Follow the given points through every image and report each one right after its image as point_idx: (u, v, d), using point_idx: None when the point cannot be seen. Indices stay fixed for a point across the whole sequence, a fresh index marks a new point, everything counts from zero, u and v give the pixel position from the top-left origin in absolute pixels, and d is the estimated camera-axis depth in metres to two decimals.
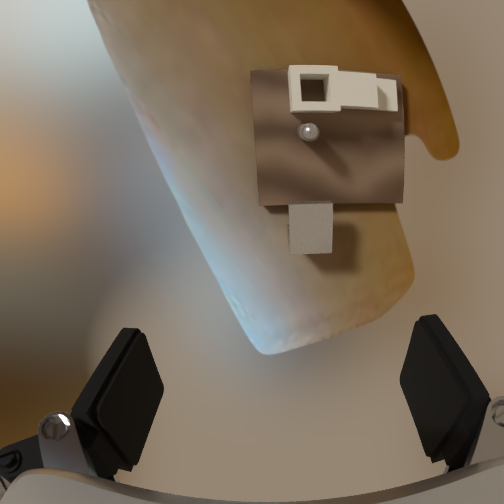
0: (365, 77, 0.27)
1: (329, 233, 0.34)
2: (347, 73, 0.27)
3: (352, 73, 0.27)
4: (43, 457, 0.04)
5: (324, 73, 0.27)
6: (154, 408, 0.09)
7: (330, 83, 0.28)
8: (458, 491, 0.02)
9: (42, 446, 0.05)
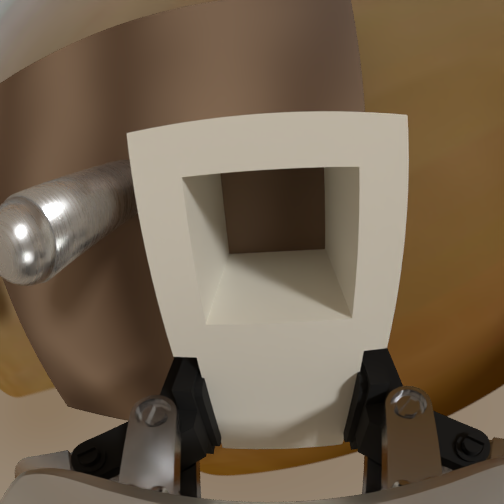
0: (331, 426, 0.08)
1: None
2: (349, 381, 0.07)
3: (348, 395, 0.07)
4: (127, 439, 0.05)
5: (355, 295, 0.06)
6: None
7: (302, 322, 0.06)
8: (458, 491, 0.02)
9: (130, 427, 0.06)
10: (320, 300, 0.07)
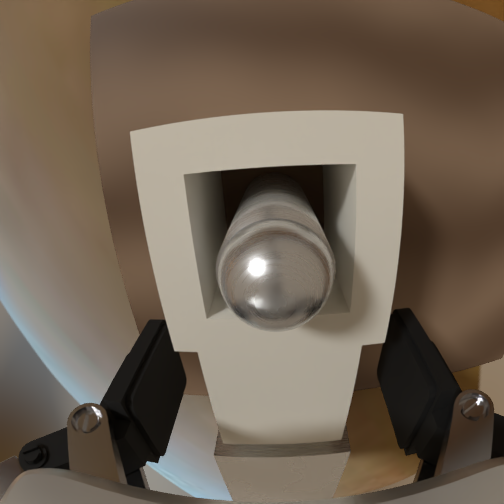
0: (330, 421, 0.08)
1: (329, 486, 0.10)
2: (348, 375, 0.07)
3: (346, 389, 0.07)
4: (69, 448, 0.05)
5: None
6: (179, 399, 0.10)
7: None
8: (458, 491, 0.02)
9: (70, 437, 0.05)
10: None
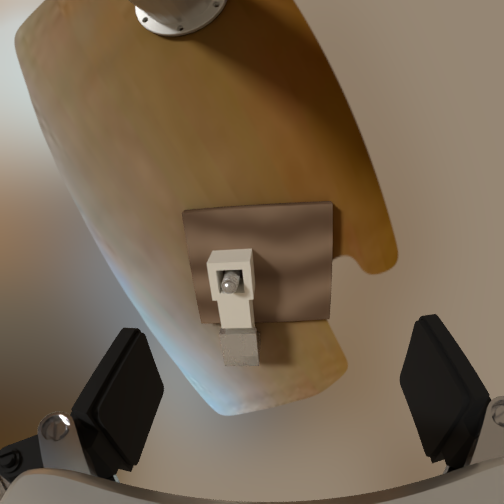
0: (247, 320, 0.39)
1: (255, 353, 0.41)
2: (247, 306, 0.38)
3: (248, 310, 0.38)
4: (43, 457, 0.04)
5: (245, 288, 0.37)
6: (154, 408, 0.09)
7: (236, 293, 0.37)
8: (458, 491, 0.02)
9: (42, 446, 0.05)
10: (240, 289, 0.38)
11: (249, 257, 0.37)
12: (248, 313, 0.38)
